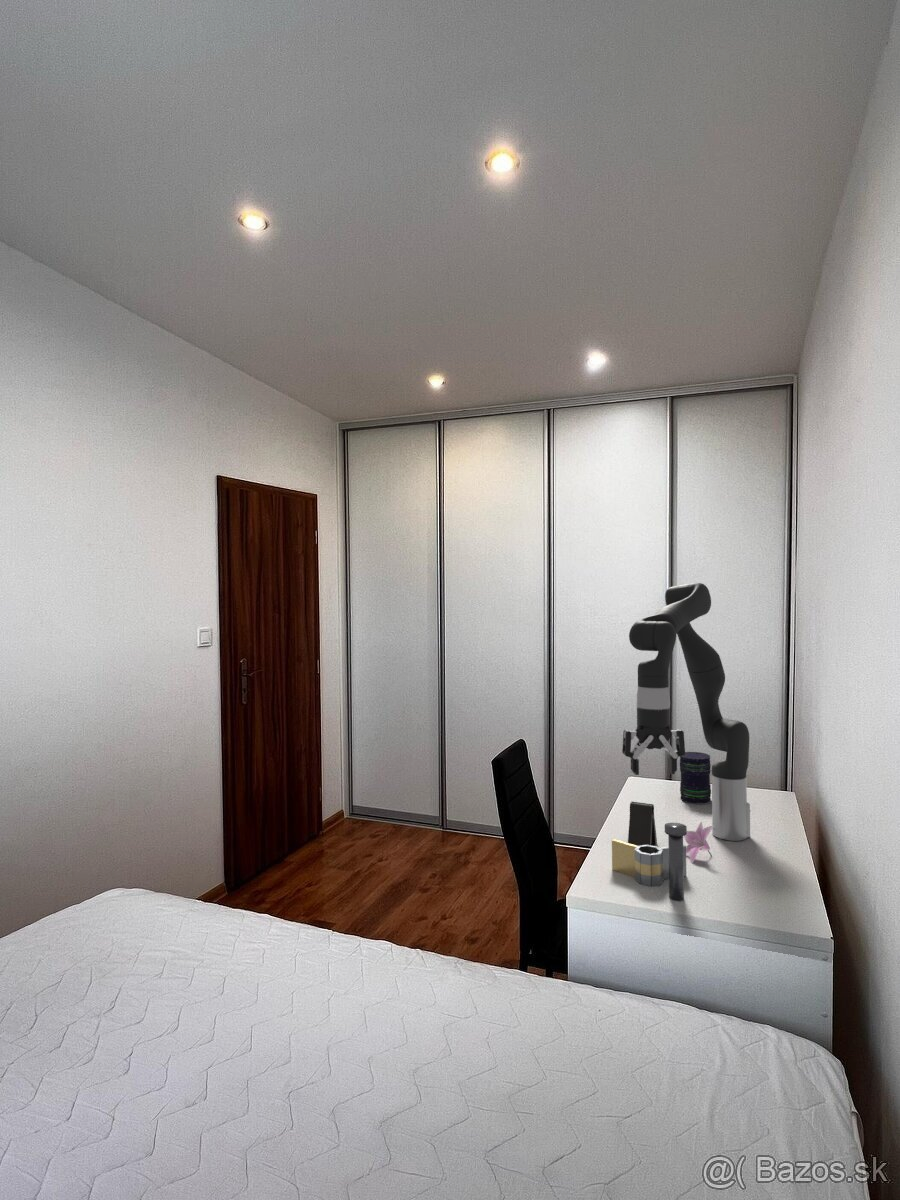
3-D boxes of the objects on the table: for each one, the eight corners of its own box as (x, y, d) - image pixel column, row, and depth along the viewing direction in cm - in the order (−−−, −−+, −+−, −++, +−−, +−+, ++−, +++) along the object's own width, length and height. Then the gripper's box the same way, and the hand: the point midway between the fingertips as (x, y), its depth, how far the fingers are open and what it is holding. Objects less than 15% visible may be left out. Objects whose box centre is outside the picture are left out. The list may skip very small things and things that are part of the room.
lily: (685, 850, 186) (671, 824, 184) (724, 839, 182) (710, 813, 180) (689, 878, 176) (674, 851, 174) (730, 867, 172) (716, 839, 170)
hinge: (664, 861, 176) (664, 833, 175) (692, 880, 164) (692, 849, 164) (611, 868, 172) (610, 839, 172) (635, 888, 160) (635, 857, 160)
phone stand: (649, 854, 181) (648, 809, 181) (627, 850, 184) (626, 806, 184) (657, 843, 189) (656, 800, 189) (635, 839, 192) (635, 797, 192)
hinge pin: (679, 891, 158) (678, 821, 158) (692, 900, 153) (691, 828, 153) (661, 894, 157) (660, 823, 157) (673, 903, 152) (672, 830, 152)
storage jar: (707, 805, 220) (706, 760, 220) (676, 801, 226) (676, 756, 225) (714, 797, 229) (713, 753, 228) (684, 793, 234) (683, 750, 234)
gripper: (677, 702, 164) (677, 769, 164) (618, 703, 163) (619, 770, 163) (689, 707, 156) (689, 777, 156) (628, 708, 156) (628, 778, 156)
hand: (653, 773), depth 160 cm, fingers open, 8 cm apart
